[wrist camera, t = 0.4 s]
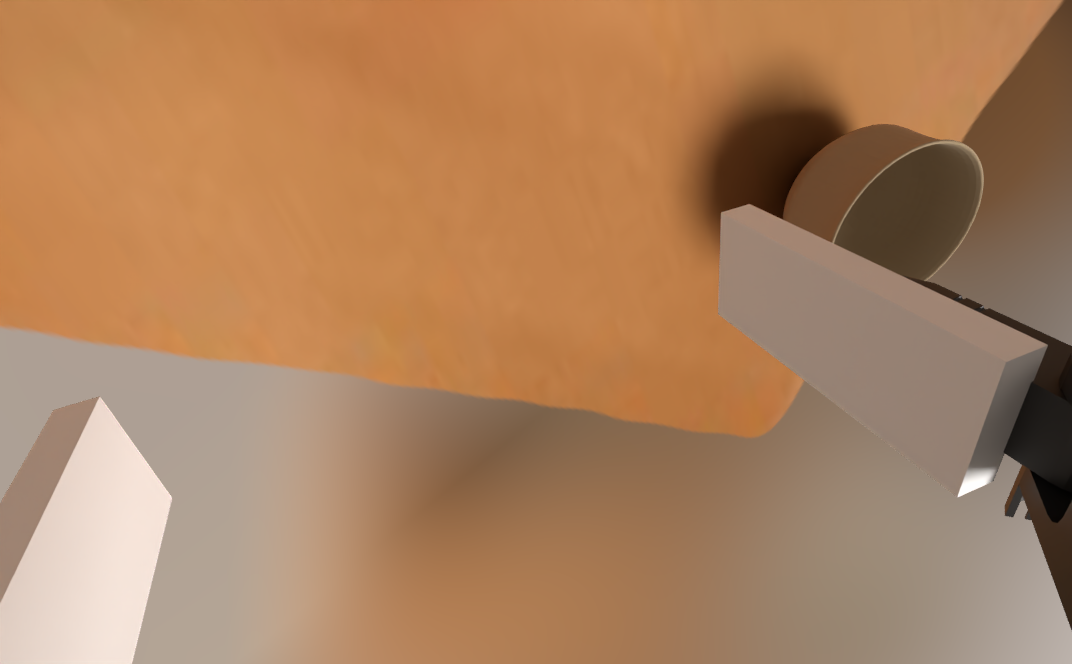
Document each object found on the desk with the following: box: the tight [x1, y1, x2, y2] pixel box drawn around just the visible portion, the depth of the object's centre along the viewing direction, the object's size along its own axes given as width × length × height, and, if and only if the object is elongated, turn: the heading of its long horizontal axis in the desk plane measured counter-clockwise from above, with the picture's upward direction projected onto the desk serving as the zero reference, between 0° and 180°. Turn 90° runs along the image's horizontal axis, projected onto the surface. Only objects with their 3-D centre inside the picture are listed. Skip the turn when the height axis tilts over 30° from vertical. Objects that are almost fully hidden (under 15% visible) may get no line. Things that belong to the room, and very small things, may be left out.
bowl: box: [783, 124, 983, 281], centre depth 45 cm, size 13×13×10 cm
